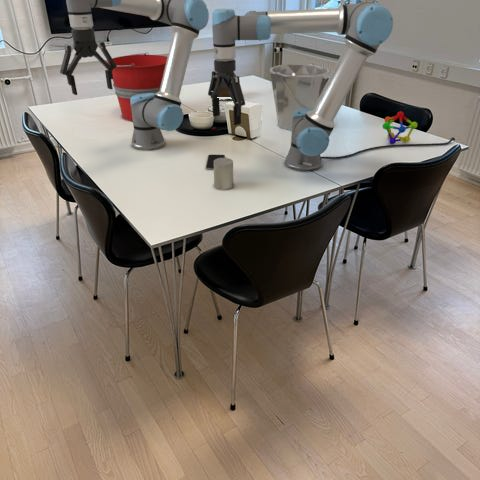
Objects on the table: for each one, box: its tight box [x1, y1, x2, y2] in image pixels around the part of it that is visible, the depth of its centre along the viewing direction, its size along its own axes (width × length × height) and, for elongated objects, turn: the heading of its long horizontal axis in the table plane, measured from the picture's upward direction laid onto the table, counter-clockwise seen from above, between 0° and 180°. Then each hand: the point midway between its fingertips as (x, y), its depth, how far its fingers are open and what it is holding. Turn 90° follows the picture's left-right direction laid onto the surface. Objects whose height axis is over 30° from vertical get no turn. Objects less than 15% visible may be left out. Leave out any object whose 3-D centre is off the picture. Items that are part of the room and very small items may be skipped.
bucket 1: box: [105, 52, 168, 122], centre depth 240 cm, size 35×35×30 cm
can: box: [213, 157, 234, 191], centre depth 167 cm, size 7×7×10 cm
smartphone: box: [205, 154, 226, 170], centre depth 188 cm, size 7×1×15 cm
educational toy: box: [382, 110, 418, 145], centre depth 207 cm, size 16×13×15 cm
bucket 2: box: [269, 63, 330, 131], centre depth 226 cm, size 30×30×28 cm
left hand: (92, 91), depth 163 cm, fingers open, 13 cm apart
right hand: (226, 120), depth 164 cm, fingers open, 13 cm apart
